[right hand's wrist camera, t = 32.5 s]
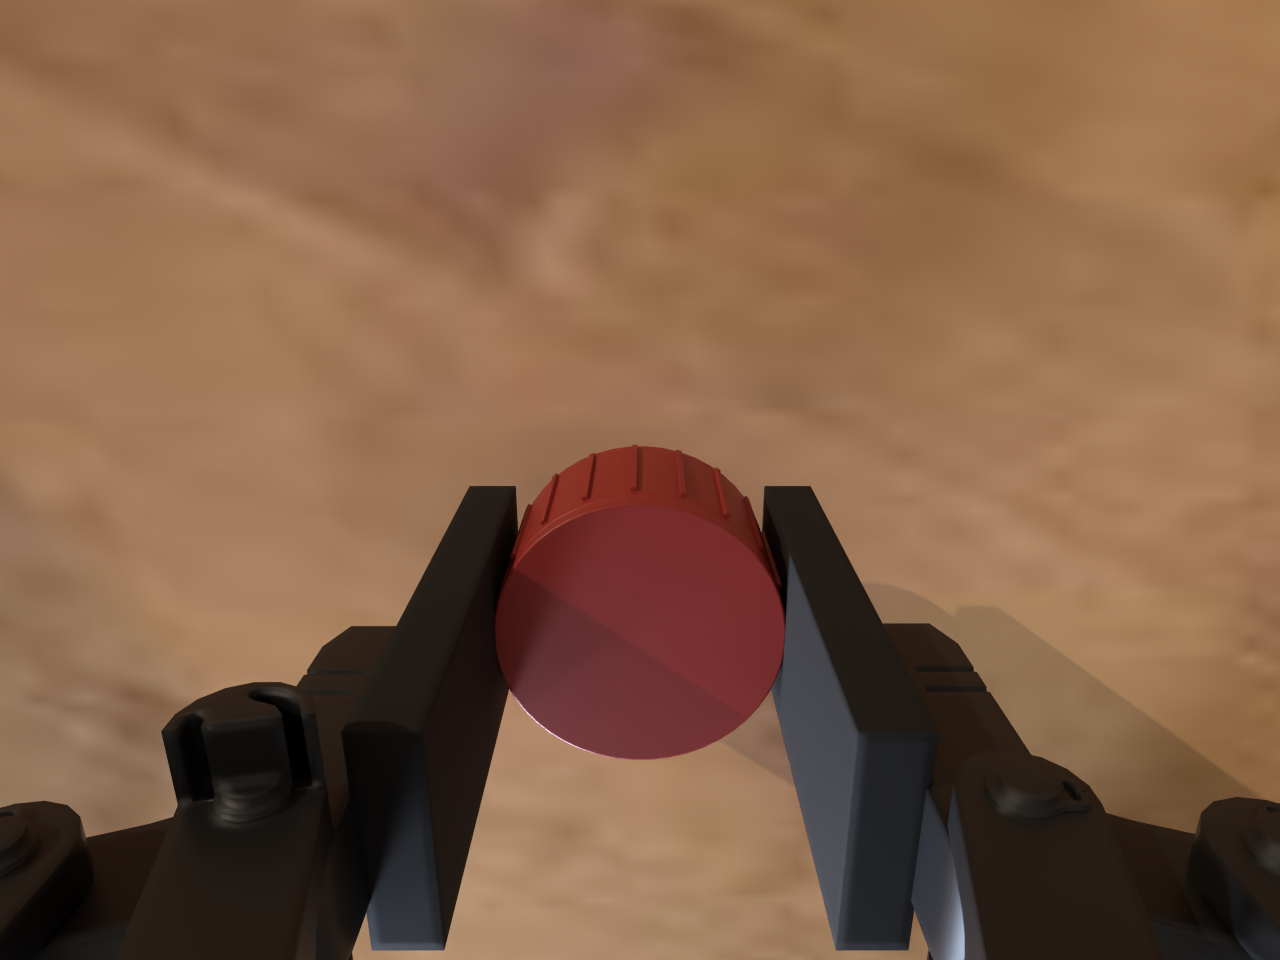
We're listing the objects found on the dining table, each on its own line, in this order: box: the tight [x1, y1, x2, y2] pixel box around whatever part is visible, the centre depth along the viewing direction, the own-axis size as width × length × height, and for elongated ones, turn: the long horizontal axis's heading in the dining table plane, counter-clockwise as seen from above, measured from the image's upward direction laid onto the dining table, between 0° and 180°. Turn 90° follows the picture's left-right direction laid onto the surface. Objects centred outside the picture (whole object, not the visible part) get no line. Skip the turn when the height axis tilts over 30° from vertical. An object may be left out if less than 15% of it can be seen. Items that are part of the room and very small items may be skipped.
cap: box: [495, 445, 786, 760], centre depth 13 cm, size 4×4×2 cm
